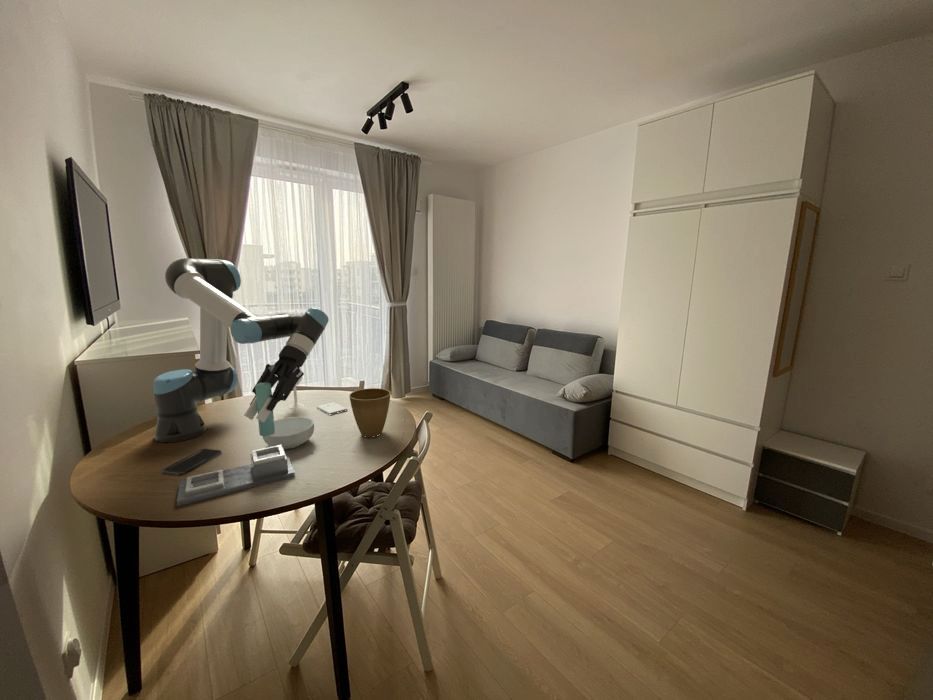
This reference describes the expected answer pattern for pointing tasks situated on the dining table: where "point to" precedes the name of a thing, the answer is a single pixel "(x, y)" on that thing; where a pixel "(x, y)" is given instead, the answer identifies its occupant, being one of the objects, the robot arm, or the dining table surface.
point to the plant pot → (370, 410)
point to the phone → (192, 461)
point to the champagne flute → (296, 404)
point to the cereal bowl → (290, 432)
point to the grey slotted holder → (237, 476)
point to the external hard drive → (331, 408)
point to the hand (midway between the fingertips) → (254, 418)
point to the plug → (261, 396)
